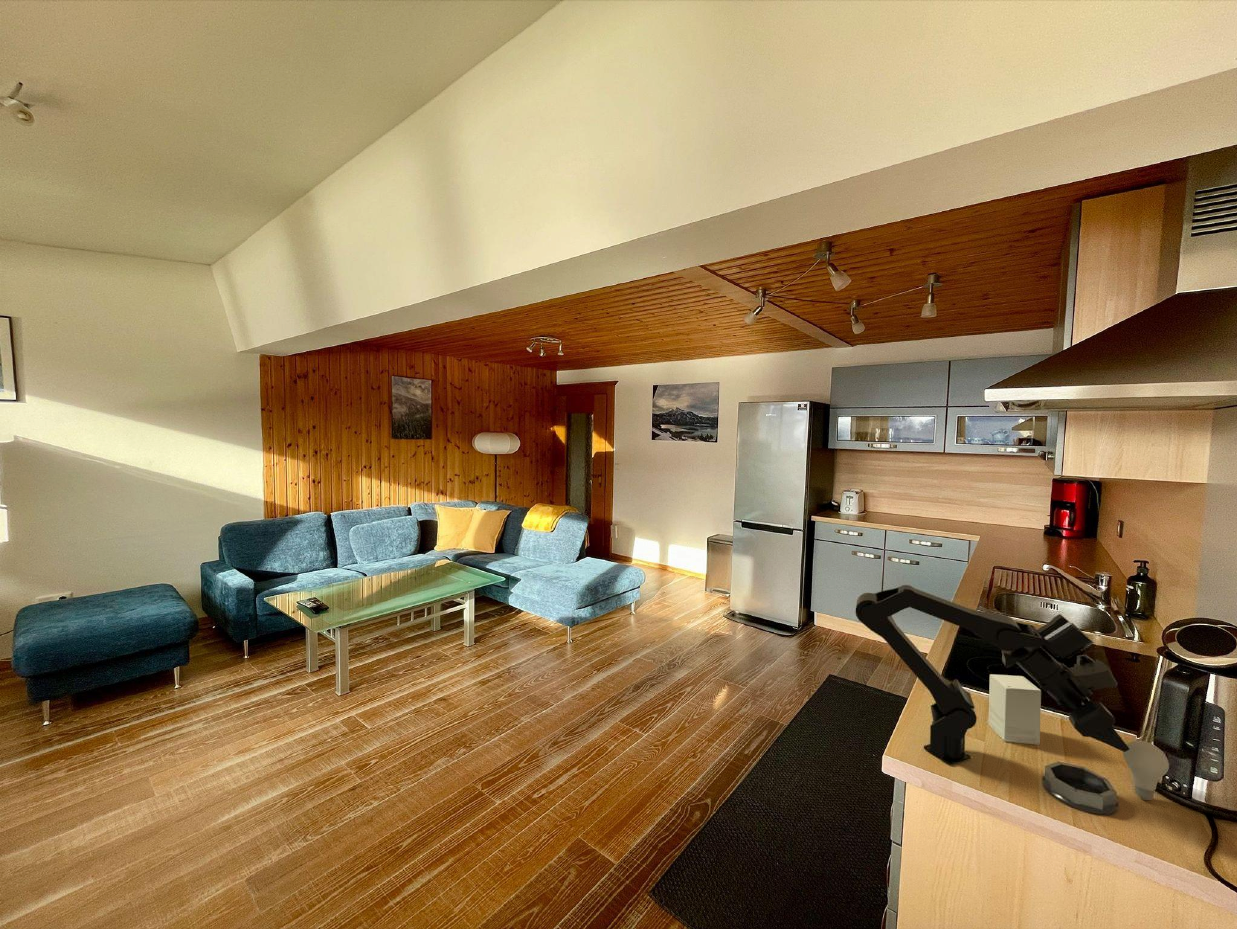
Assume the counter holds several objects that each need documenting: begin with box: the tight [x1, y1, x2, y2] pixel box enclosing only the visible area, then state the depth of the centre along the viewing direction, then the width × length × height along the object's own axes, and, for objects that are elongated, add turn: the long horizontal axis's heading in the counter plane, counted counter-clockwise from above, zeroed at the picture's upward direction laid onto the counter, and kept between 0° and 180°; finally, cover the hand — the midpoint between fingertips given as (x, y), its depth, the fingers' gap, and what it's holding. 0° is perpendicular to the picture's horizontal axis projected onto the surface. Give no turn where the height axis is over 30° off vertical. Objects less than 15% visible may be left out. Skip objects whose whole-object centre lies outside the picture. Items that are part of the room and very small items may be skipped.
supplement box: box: [988, 673, 1042, 746], centre depth 119 cm, size 7×7×13 cm
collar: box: [1041, 761, 1119, 816], centre depth 99 cm, size 11×11×3 cm
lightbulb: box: [1122, 740, 1170, 801], centre depth 98 cm, size 6×6×11 cm
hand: (1116, 737), depth 99 cm, fingers open, 9 cm apart
